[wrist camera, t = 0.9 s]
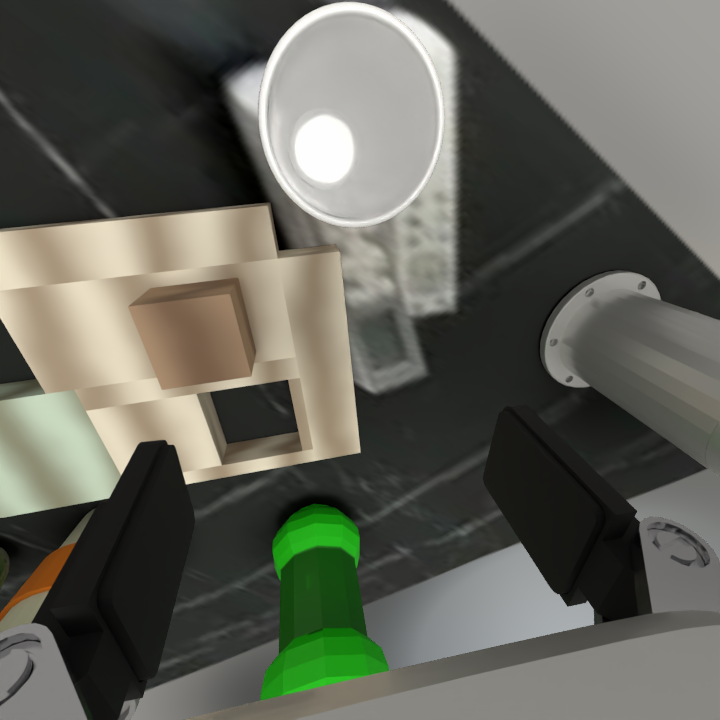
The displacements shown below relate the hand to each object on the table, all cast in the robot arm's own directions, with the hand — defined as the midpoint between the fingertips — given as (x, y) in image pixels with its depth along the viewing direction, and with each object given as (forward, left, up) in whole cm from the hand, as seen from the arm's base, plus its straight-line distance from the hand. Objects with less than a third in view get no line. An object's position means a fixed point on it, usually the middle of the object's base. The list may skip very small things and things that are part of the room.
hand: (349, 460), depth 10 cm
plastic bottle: (+4, +29, -22) cm, 37 cm away
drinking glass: (-2, -9, -22) cm, 24 cm away
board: (+14, +6, -22) cm, 27 cm away
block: (+8, +2, -19) cm, 20 cm away
